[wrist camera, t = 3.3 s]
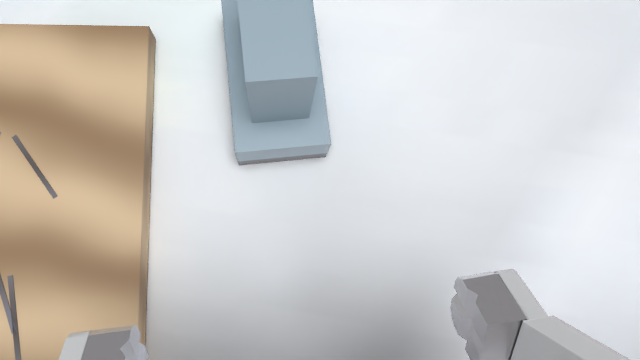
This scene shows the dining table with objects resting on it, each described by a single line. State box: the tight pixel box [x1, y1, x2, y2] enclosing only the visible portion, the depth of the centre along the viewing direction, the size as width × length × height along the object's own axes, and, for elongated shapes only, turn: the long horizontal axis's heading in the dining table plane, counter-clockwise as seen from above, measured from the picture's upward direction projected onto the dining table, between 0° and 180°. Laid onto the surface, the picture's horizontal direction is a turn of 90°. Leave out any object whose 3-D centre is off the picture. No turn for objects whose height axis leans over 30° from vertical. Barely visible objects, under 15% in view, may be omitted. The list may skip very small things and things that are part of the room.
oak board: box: [0, 24, 156, 360], centre depth 24 cm, size 26×14×2 cm, turn 2°
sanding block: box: [221, 0, 331, 165], centre depth 24 cm, size 9×5×8 cm, turn 7°
